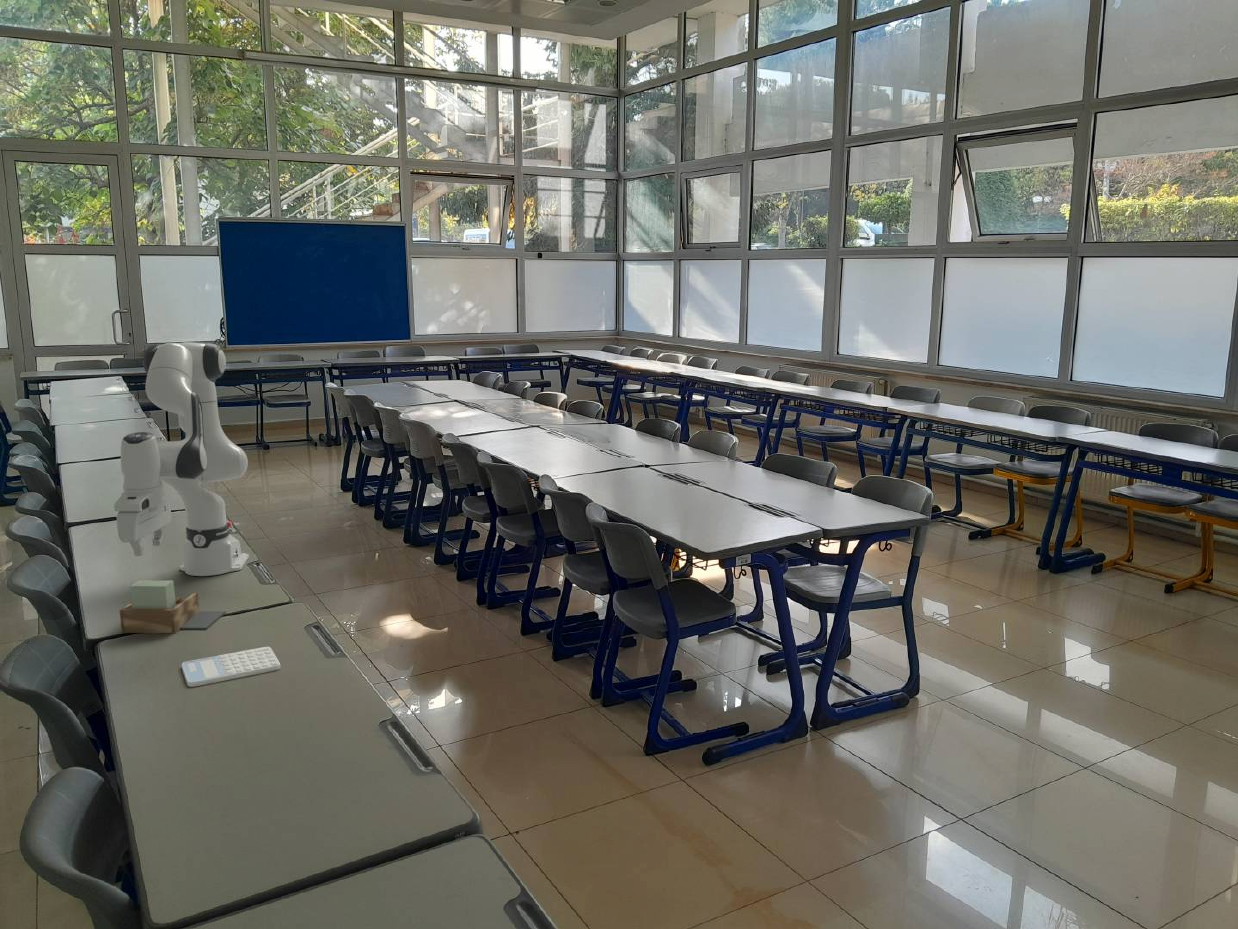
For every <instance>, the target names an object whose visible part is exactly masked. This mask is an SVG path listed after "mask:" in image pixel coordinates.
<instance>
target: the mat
mask: <svg viewBox="0 0 1238 929" xmlns="http://www.w3.org/2000/svg"><path fill="white" fill-rule="evenodd" d="M225 614H226V610H221V611H219V610H199V612H198V613H197V614H196V615H195V616H193V617H192V618H191V619H190V620H188V621H187V622H186V623H185V624H183V625H182V626H181V627H180V630H205V631H206V630H208V629H209V628H210V627H211V626H212V625H214V624H215V623H216V622H217V621H218V620H219V619H220V618H222V617H223V616H224V615H225Z"/></svg>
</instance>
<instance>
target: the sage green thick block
mask: <svg viewBox="0 0 1238 929" xmlns="http://www.w3.org/2000/svg"><path fill="white" fill-rule="evenodd" d="M129 590H130V600H131V602H132V609H173V608H174V607H176V602H175V597H176V594H175V593H176V592H175V590H176V589H175V582H174V580H155V579H154V580H153V579H152V580H151V579H150V580H147V579H146V580H141V579H140V580H137V581H135V582H134V583H133V584H131V585H130V586H129ZM131 602H130V603H131Z"/></svg>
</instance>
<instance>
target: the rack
mask: <svg viewBox="0 0 1238 929" xmlns="http://www.w3.org/2000/svg"><path fill="white" fill-rule="evenodd" d="M199 606H200V605H199V593H198V591H197V592H193V593H192V594H190V595H189V596H188V597H186V598H185V599H182V602H181V603H180V604H176V607H174V608H173V609H132V602H130V603H128V604H127V605H126V606H124V607H122V608H120V609H119V618H120V619H119V620H120V628H121V633H127V634H128V633H129V634H130V633H131V634H132V633H133V634H138V633H139V634H141V633H142V634H169V633H170V634H176V633H177V632H178V631H180V630H181V629H180V627H181V626H182V625H183V624H185V623H186V622H187V621H188V620H190V619H191V618H192V617H193V616H195V615H196V614H197V613H198V612H199V611H200V607H199Z"/></svg>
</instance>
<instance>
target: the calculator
mask: <svg viewBox="0 0 1238 929" xmlns="http://www.w3.org/2000/svg"><path fill="white" fill-rule="evenodd" d="M281 667H282V666H281V663H280V661H279V659H278V658H277V656H276V654H275V653H274V650H273V649H272V648H271V647H270V646H262V647H257V648H251V649H246V650H240V651H236V652H230V653H224V654H219V655H215V656H209V657H203V658H198V659H197V658H196V659H193V660H186V661H183V662H182V663H181V669H182V670H181V671H182V674H183V676H184V679H185V682H186V685H187V686H188V687H190V688H192V687H199V686H204V685H209V684H215V683H219V682H224V681H225V682H226V681H229V680H234V679H239V678H245V677H248V676H249V677H250V676H255V675H259V674H264V673H269V672H274V671H279V670H280V669H281Z"/></svg>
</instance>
